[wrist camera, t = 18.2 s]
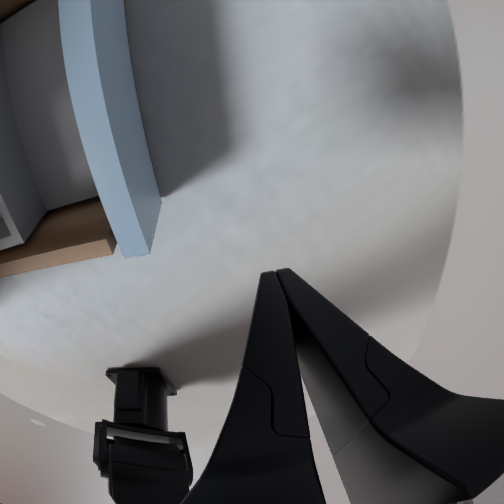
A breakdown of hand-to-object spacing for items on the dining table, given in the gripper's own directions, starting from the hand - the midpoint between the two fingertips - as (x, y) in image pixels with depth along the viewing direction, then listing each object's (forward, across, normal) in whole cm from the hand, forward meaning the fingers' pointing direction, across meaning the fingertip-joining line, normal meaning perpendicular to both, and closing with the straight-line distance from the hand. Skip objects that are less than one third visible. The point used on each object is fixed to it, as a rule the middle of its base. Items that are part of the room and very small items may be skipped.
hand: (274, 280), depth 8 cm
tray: (+8, +14, -7) cm, 17 cm away
